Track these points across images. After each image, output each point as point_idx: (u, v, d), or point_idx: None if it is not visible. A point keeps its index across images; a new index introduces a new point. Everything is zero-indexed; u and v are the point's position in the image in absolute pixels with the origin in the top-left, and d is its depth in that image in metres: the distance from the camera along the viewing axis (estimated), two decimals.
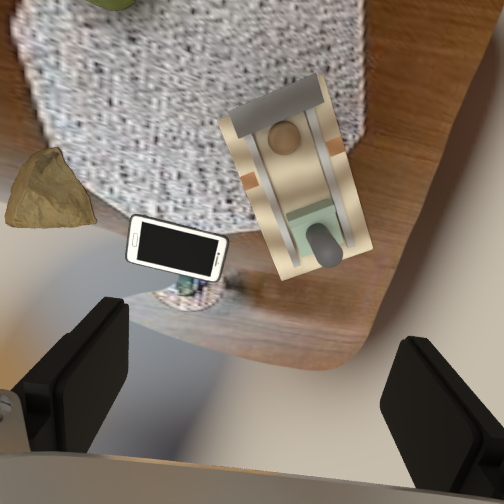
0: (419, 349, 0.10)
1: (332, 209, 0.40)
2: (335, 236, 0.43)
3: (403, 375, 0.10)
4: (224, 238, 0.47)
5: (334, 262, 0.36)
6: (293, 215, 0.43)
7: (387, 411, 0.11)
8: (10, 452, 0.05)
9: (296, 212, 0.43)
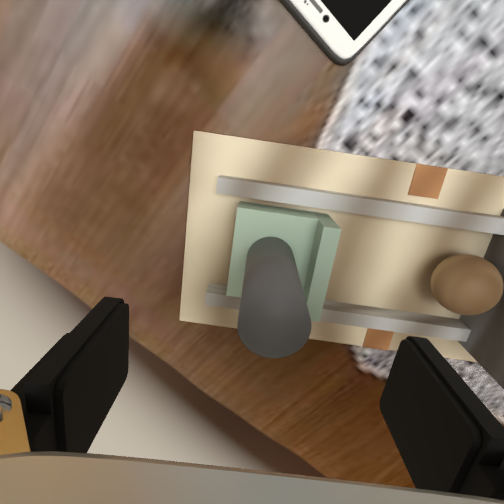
0: (419, 349, 0.10)
1: (312, 316, 0.20)
2: None
3: (403, 375, 0.10)
4: (350, 57, 0.20)
5: (247, 328, 0.13)
6: None
7: (387, 410, 0.11)
8: (10, 452, 0.05)
9: None
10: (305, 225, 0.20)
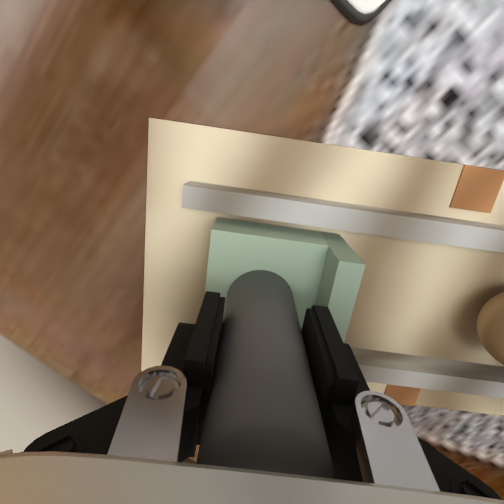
0: (317, 315, 0.11)
1: None
2: None
3: (304, 339, 0.11)
4: (373, 11, 0.14)
5: None
6: None
7: None
8: (167, 428, 0.06)
9: None
10: (310, 254, 0.14)
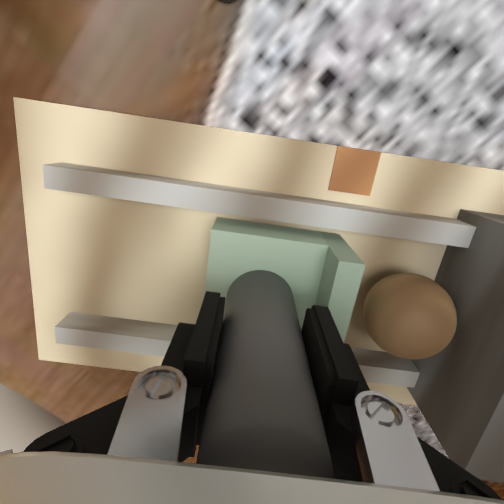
0: (317, 315, 0.11)
1: None
2: None
3: (304, 339, 0.11)
4: None
5: None
6: None
7: None
8: (167, 427, 0.06)
9: None
10: (310, 254, 0.14)
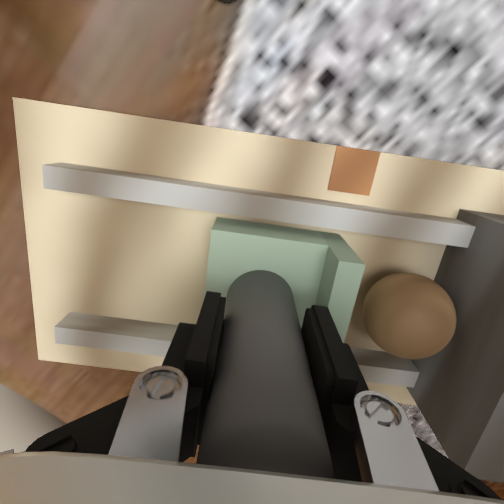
0: (317, 315, 0.11)
1: None
2: None
3: (304, 339, 0.11)
4: None
5: None
6: None
7: None
8: (168, 428, 0.06)
9: None
10: (310, 254, 0.14)
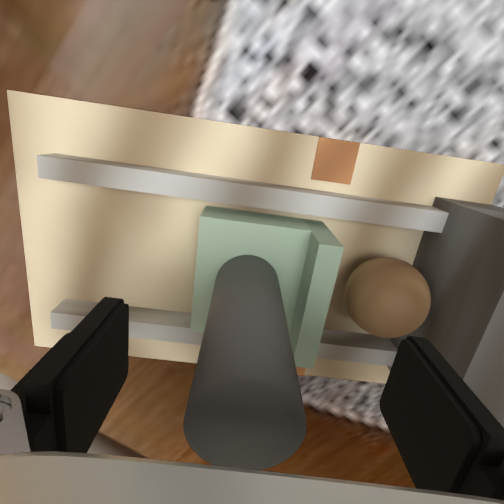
0: (419, 349, 0.10)
1: (303, 361, 0.15)
2: None
3: (403, 375, 0.10)
4: None
5: (201, 431, 0.08)
6: None
7: (387, 411, 0.11)
8: (10, 452, 0.05)
9: None
10: (293, 239, 0.15)
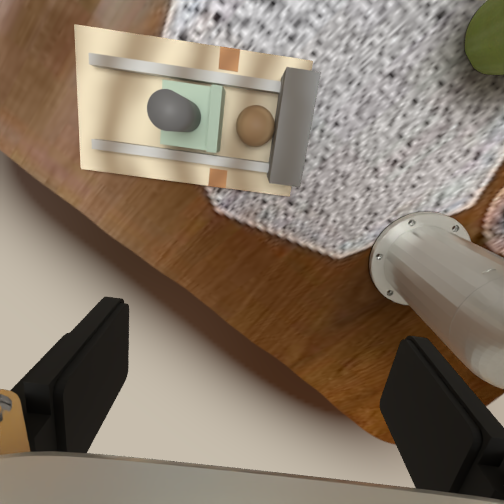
0: (419, 349, 0.10)
1: (211, 148, 0.32)
2: (172, 137, 0.33)
3: (403, 375, 0.10)
4: None
5: (152, 112, 0.25)
6: (223, 98, 0.32)
7: (387, 410, 0.11)
8: (10, 452, 0.05)
9: (223, 105, 0.33)
10: (206, 91, 0.32)
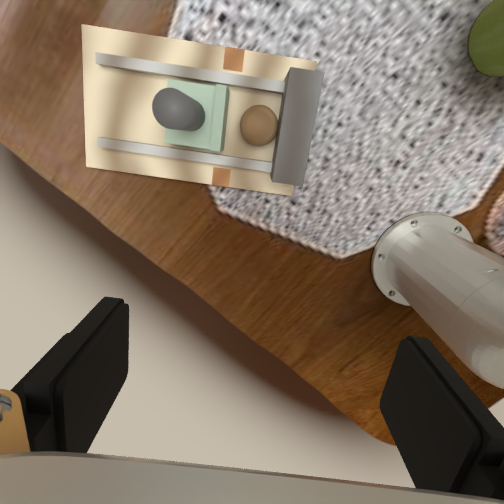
0: (419, 348, 0.10)
1: (215, 147, 0.32)
2: (177, 136, 0.33)
3: (403, 375, 0.10)
4: None
5: (157, 110, 0.25)
6: (227, 97, 0.32)
7: (387, 410, 0.11)
8: (10, 452, 0.05)
9: (227, 104, 0.33)
10: (210, 91, 0.32)
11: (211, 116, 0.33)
